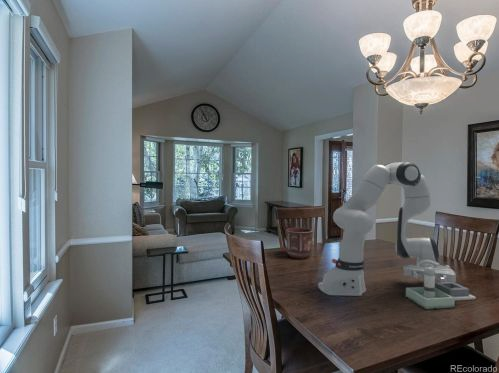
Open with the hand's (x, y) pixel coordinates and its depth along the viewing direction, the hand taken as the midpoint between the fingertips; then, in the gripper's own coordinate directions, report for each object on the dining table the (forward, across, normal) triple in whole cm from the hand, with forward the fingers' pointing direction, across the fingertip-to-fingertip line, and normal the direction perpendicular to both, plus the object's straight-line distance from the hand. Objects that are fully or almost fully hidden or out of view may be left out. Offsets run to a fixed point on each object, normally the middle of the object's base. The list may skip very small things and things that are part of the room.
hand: (429, 278), depth 131 cm
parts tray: (-1, 0, +10) cm, 11 cm away
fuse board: (-15, +10, +10) cm, 21 cm away
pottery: (-44, -73, +11) cm, 86 cm away
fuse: (-1, 0, +10) cm, 10 cm away
